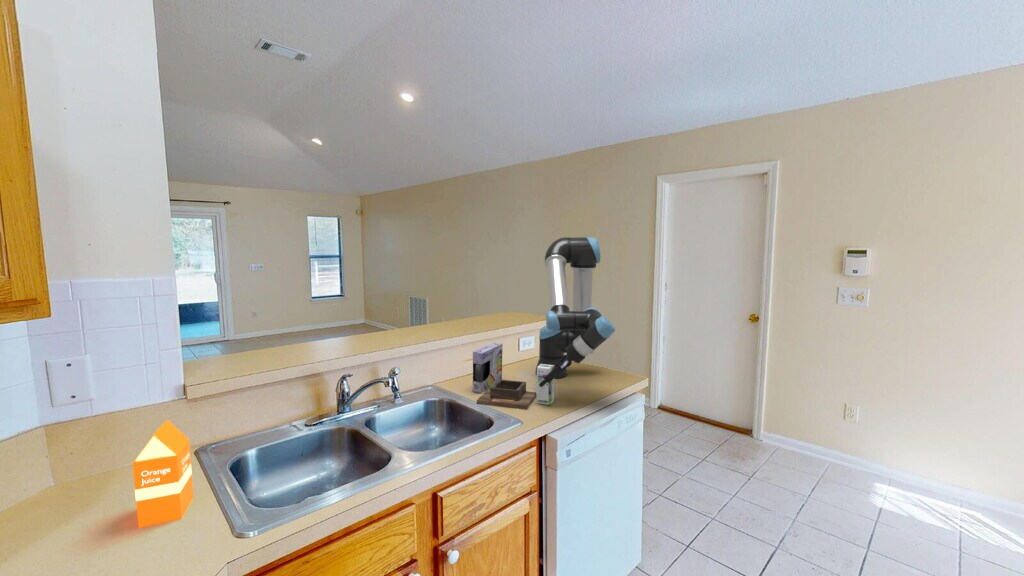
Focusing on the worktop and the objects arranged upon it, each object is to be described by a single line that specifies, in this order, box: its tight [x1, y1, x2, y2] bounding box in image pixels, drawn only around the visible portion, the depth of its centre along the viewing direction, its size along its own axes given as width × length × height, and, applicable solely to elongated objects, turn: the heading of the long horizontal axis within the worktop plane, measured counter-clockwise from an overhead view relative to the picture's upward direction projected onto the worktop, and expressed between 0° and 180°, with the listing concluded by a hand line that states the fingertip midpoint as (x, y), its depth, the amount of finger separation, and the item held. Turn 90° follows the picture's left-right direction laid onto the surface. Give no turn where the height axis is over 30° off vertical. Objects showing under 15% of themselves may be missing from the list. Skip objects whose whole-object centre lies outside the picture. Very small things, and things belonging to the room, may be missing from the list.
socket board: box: [476, 379, 537, 411], centre depth 163 cm, size 15×20×6 cm
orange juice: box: [132, 419, 194, 529], centre depth 93 cm, size 8×9×20 cm
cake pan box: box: [472, 341, 503, 394], centre depth 178 cm, size 19×5×18 cm, turn 152°
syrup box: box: [536, 364, 555, 406], centre depth 161 cm, size 6×6×14 cm
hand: (536, 387), depth 162 cm, fingers closed on syrup box, 6 cm apart
